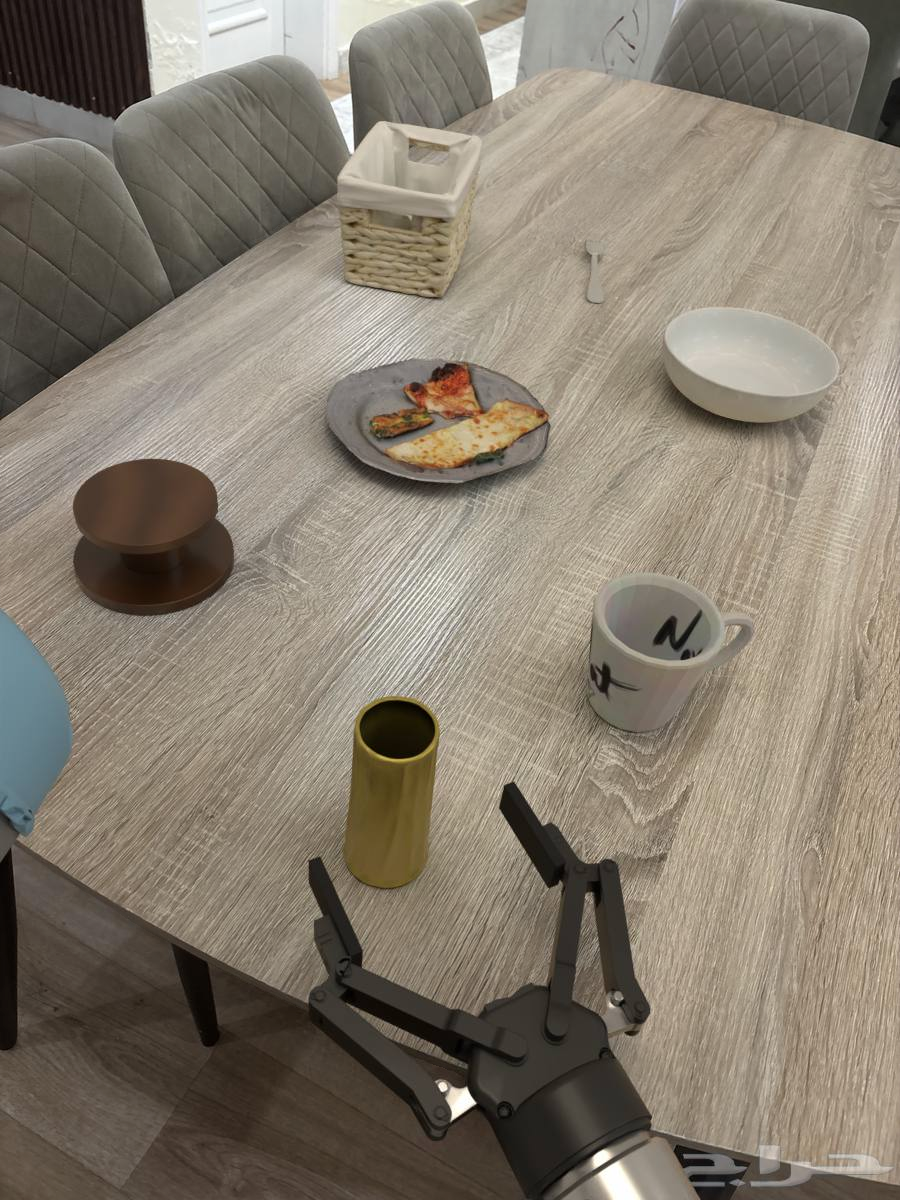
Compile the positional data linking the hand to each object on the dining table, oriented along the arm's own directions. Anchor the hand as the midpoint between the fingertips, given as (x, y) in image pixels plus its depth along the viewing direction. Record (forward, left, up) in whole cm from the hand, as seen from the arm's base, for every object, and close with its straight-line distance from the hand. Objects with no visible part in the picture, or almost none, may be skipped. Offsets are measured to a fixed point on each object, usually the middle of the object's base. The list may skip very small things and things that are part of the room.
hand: (414, 829), depth 60 cm
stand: (-14, +37, -8) cm, 40 cm away
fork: (+53, +89, -8) cm, 104 cm away
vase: (-1, +3, -8) cm, 8 cm away
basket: (+26, +95, -8) cm, 99 cm away
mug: (+25, +12, -8) cm, 29 cm away
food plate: (+18, +53, -8) cm, 57 cm away
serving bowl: (+57, +54, -8) cm, 79 cm away
